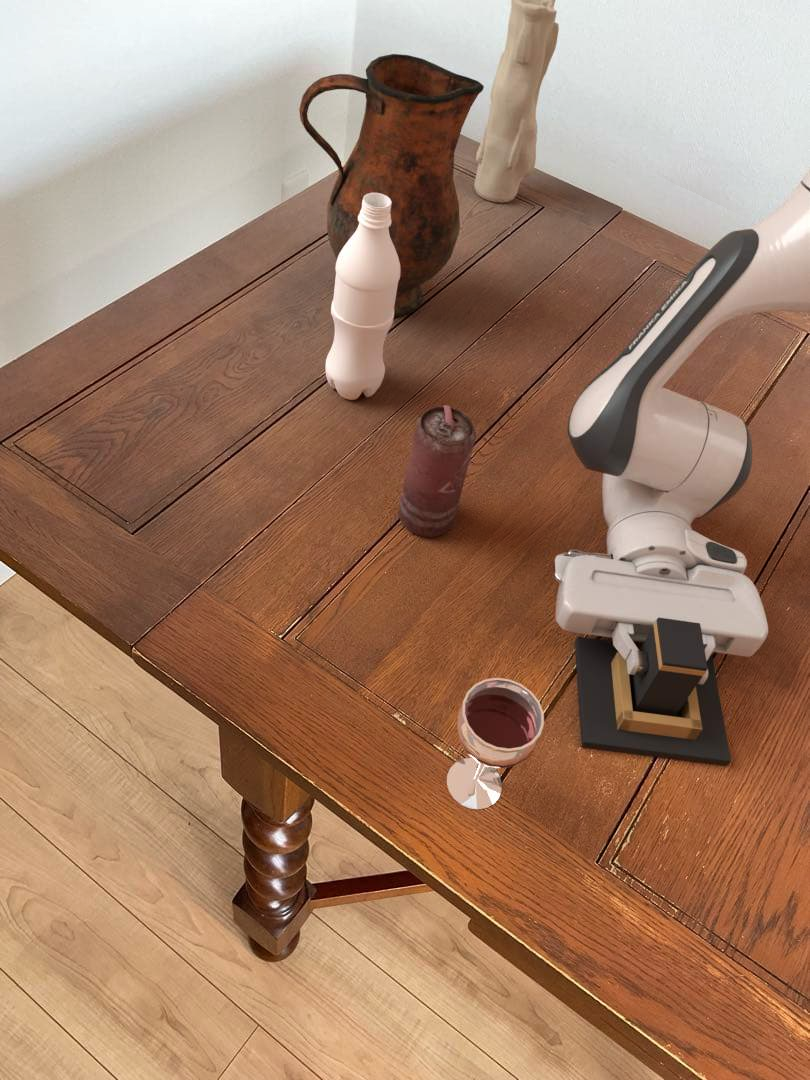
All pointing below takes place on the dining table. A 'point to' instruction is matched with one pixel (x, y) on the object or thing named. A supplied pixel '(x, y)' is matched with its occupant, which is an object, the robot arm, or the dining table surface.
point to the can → (436, 470)
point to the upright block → (669, 667)
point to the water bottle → (363, 302)
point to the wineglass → (493, 738)
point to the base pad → (629, 731)
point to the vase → (516, 101)
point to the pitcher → (402, 162)
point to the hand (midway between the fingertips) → (668, 676)
